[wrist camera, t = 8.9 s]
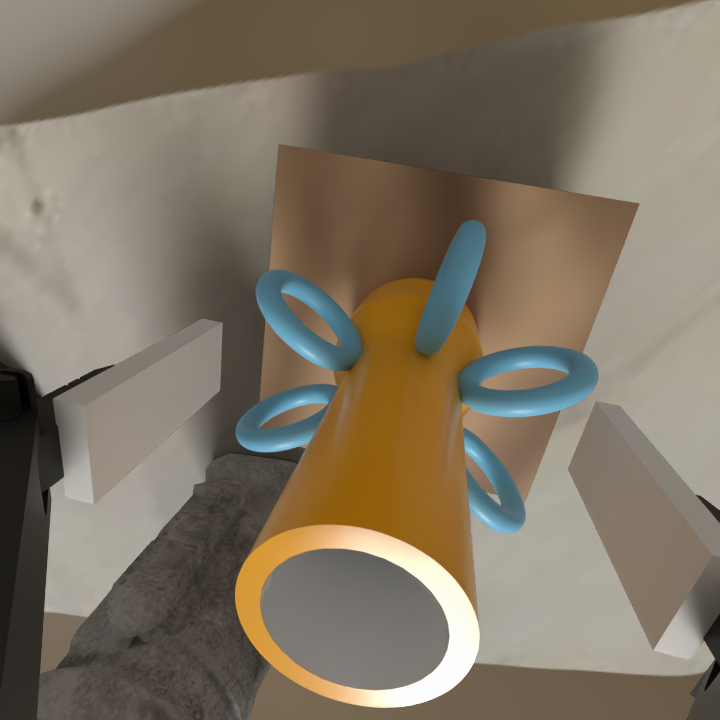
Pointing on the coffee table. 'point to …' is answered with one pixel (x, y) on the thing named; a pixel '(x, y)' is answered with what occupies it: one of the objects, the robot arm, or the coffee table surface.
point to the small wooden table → (423, 260)
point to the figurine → (176, 614)
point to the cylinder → (386, 485)
